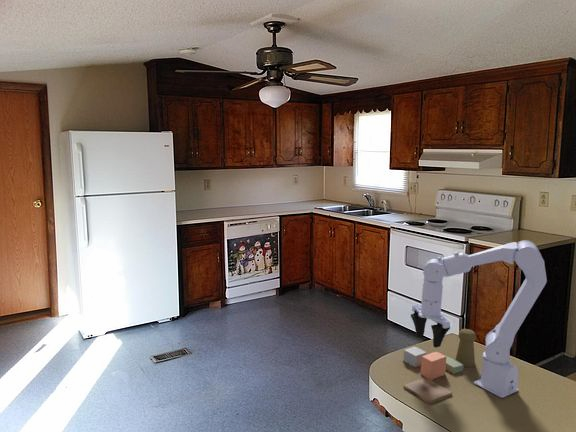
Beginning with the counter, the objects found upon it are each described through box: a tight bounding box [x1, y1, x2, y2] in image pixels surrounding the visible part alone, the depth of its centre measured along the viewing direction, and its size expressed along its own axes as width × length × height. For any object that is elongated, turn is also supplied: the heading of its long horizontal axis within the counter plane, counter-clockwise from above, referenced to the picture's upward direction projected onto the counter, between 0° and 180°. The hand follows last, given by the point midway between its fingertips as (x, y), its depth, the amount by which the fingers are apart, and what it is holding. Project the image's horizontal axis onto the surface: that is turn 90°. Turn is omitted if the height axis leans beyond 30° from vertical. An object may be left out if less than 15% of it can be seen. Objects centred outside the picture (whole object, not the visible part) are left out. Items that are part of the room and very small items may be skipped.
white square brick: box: [403, 346, 427, 368], centre depth 153 cm, size 5×5×4 cm
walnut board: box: [403, 376, 453, 405], centre depth 136 cm, size 10×9×1 cm
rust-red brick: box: [420, 351, 447, 381], centre depth 145 cm, size 4×6×6 cm, turn 122°
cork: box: [455, 328, 477, 368], centre depth 153 cm, size 6×6×11 cm
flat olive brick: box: [445, 355, 464, 375], centre depth 150 cm, size 6×4×2 cm, turn 28°
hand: (428, 341), depth 145 cm, fingers open, 7 cm apart
